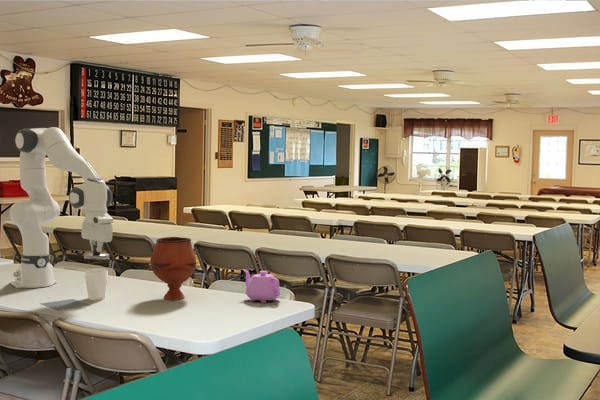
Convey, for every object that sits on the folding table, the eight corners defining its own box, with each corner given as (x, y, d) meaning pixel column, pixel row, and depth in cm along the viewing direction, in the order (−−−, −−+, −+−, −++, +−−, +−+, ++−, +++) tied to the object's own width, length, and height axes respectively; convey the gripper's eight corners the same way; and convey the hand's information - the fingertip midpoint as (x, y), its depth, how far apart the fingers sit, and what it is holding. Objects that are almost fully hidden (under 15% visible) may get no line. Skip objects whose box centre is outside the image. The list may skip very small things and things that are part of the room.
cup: (101, 301, 284) (101, 272, 284) (81, 300, 286) (81, 271, 285) (112, 297, 293) (111, 268, 292) (92, 296, 295) (91, 268, 294)
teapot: (232, 299, 291) (232, 270, 291) (255, 294, 302) (255, 266, 302) (268, 306, 279) (268, 275, 278) (290, 300, 290) (291, 271, 289)
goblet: (165, 292, 305) (165, 235, 304) (205, 295, 299) (205, 237, 297) (141, 300, 287) (141, 240, 286) (183, 304, 281) (182, 242, 279)
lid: (79, 257, 289) (79, 244, 288) (102, 255, 296) (101, 242, 295) (91, 260, 281) (90, 247, 281) (113, 257, 288) (113, 245, 288)
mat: (39, 304, 278) (39, 303, 278) (73, 299, 288) (73, 298, 288) (57, 310, 266) (57, 310, 266) (91, 305, 276) (91, 305, 276)
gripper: (77, 216, 293) (77, 249, 294) (100, 219, 278) (101, 254, 279) (91, 215, 297) (91, 248, 298) (115, 219, 282) (115, 253, 283)
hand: (96, 251), depth 288 cm, fingers closed on lid, 3 cm apart
